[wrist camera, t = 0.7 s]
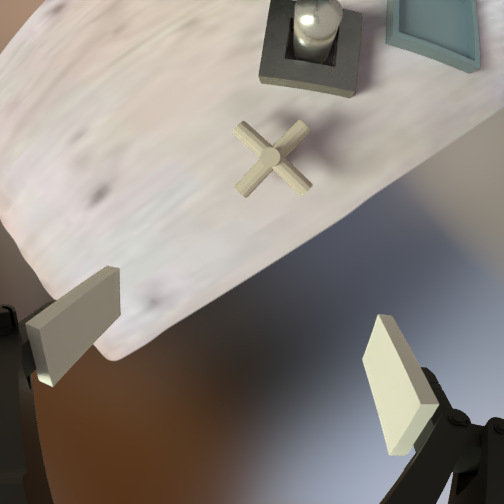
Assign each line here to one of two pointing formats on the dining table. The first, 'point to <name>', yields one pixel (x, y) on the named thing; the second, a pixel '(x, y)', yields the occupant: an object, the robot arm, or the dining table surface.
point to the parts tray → (436, 30)
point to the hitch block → (306, 73)
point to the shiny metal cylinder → (315, 29)
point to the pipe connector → (272, 158)
